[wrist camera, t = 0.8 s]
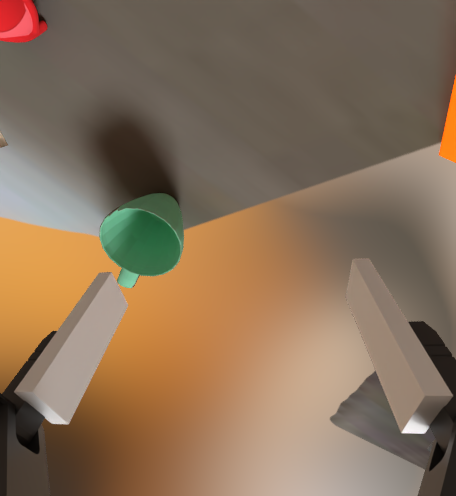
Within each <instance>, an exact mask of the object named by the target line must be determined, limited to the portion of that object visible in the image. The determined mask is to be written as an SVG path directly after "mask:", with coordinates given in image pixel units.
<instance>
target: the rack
mask: <svg viewBox="0 0 456 496" xmlns="http://www.w3.org/2000/svg"><path fill="white" fill-rule="evenodd" d="M4 146H7V143H6V141H5V139H4V137H3V135H2V133H1V132H0V148H1V147H4Z"/></svg>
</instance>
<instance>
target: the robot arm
mask: <svg viewBox="0 0 456 496" xmlns="http://www.w3.org/2000/svg"><path fill="white" fill-rule="evenodd" d="M346 300H347V302H348V305H349V307H350V309H351V312H352V314H353V317H354V319H355V322H356V324H357V326H358V329H359V331H360V334H361V336H362V338H363V341H364V343H365V346H366V348H367V351H368V353H369V356H370V358H371V361H372V363H373V365H374V368H375V370H376V373H377V375H378V378H379V380H380V382H381V385H382V387H383V390H384V392H385V395H386V397H387V400H388V402H389V404H390V407H391V409H392V412H393V414H394V417H395V419H396V421H397V424H398V426H399V429H400V431H401V433H421V434H424V433H425V432H426V431H427V430H428V428H429V427H430V428H431V430H432V432H433V434H434V436H435V438H436V439H435V440H434V441H433V442H432V443H431V445H430V446H429V447H428V449H427V450H428V451H429V452H431V453H430V456H429V459H428V463H427V466H426V469H425V473H424V476H423V479H422V483H421V486H420V490H419V493H418V496H456V360H455V358H454V357H452V354H451V352H450V351H449V350H448V348H447V347H445V344H444V342H443V341H442V339H441V338H440V337H439V335H438V334H437V332H436V331H435V330H433V329H432V328H431V327H430V326H428V325H427V324H426V323H425V322H423V321H421V322H408V321H407V320H406V318H405V316H404V315H403V313H402V311H401V310H400V308H399V307H398V305H397V303H396V302H395V300H394V298H393V297H392V295H391V294H390V292H389V290H388V289H387V287H386V285H385V284H384V282H383V281H382V279H381V277H380V276H379V274H378V272H377V271H376V269H375V267H374V266H373V264H372V263H371V261H370V259H369V258H362V259H353V261H352V266H351V272H350V276H349V282H348V287H347V292H346ZM127 307H128V304H127V302H126V300H125V298H124V296H123V294H122V292H121V290H120V288H119V286H118V284H117V282H116V280H115V278H114V276H113V274H112V273H111V272H106V273H99V274H98V275H97V277H96V278H95V279H94V281H93V282H92V284H91V285H90V286H89V288H88V289H87V291H86V292H85V293H84V295H83V296H82V297H81V299H80V301H79V302H78V303H77V304H76V306H75V307H74V309H73V310H72V311H71V313H70V314H69V316H68V317H67V318H66V320H65V321H64V323H63V324H62V325H61V327H60V328H59V330H58V331H52V332H51V333H50V334H49V335H48V336H47V337H46V338H44V339H43V340H42V342H41V343H40V344H39V345H38V347H37V348H36V349H35V352H34V353H33V354H32V355H31V356H30V357H29V359H28V361H26V363H25V364H24V365H23V367H22V368H21V369H20V371H19V372H18V373H17V375H16V376H15V377H14V379H13V380H12V381H11V383H10V384H9V386H8V387H7V388H6V389H5V391H4V392H3V393H2V394H1V393H0V496H50V488H49V478H48V467H47V458H46V447H45V437H44V429H43V427H42V425H41V424H42V422H43V420H44V418H46V419H47V420H49V421H50V422H51V423H52V424H69V422H70V420H71V418H72V416H73V414H74V412H75V410H76V408H77V406H78V404H79V402H80V400H81V398H82V396H83V394H84V392H85V390H86V388H87V386H88V384H89V382H90V380H91V378H92V376H93V374H94V372H95V370H96V368H97V366H98V364H99V362H100V360H101V358H102V356H103V354H104V352H105V351H106V349H107V347H108V344H109V343H110V340H111V338H112V336H113V335H114V333H115V330H116V329H117V327H118V325H119V322H120V321H121V319H122V317H123V315H124V313H125V311H126V309H127Z"/></svg>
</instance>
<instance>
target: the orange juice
mask: <svg viewBox="0 0 456 496" xmlns="http://www.w3.org/2000/svg"><path fill="white" fill-rule="evenodd" d="M439 155H440V156H442V157H444V158H446V159H449V160H451V161H453V162H455V163H456V77H455V81H454V86H453V91H452V95H451V100H450V105H449V110H448V114H447V119H446V124H445V128H444V133H443V138H442V143H441V147H440V152H439Z"/></svg>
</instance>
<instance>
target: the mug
mask: <svg viewBox="0 0 456 496" xmlns="http://www.w3.org/2000/svg"><path fill="white" fill-rule="evenodd" d="M99 238H100V241H101V244H102V247H103V249H104V251H105V252H106V253H107V255H108V256H109V258H110V259H111V260H112V261H114V262H115V263H116V264H117V265H118V266H119V267H121V268H122V269H121V271H120V274H119V277H118V279H117V282H118V283H119V284H120V285H121V286H123V287H127V288H132V287H134V286H135V284H136V282H137V279H138V277H139V276H140V275H141V276H157V275H162V274H165V273H167V272H169V271H170V270H172V269H173V268H174V267H175V266H176V265H177V264H178V262H179V260H180V257H181V254H182V250H183V241H184V231H183V220H182V214H181V211H180V208H179V205H178V203H177V201H176V200H175V199H174V198H173V197H171V196H170V195H168V194H165V193H155V194H149V195H146V196H143V197H140V198H137V199H134V200H132V201H130V202H128V203H126V204H124V205H122V206H120V207H118V208H116V209H115V210H114V211H112V212H111V213H110V214H108V215H107V216H106V217H105V219H104V221H103V222H102V224H101V226H100V237H99Z"/></svg>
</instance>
